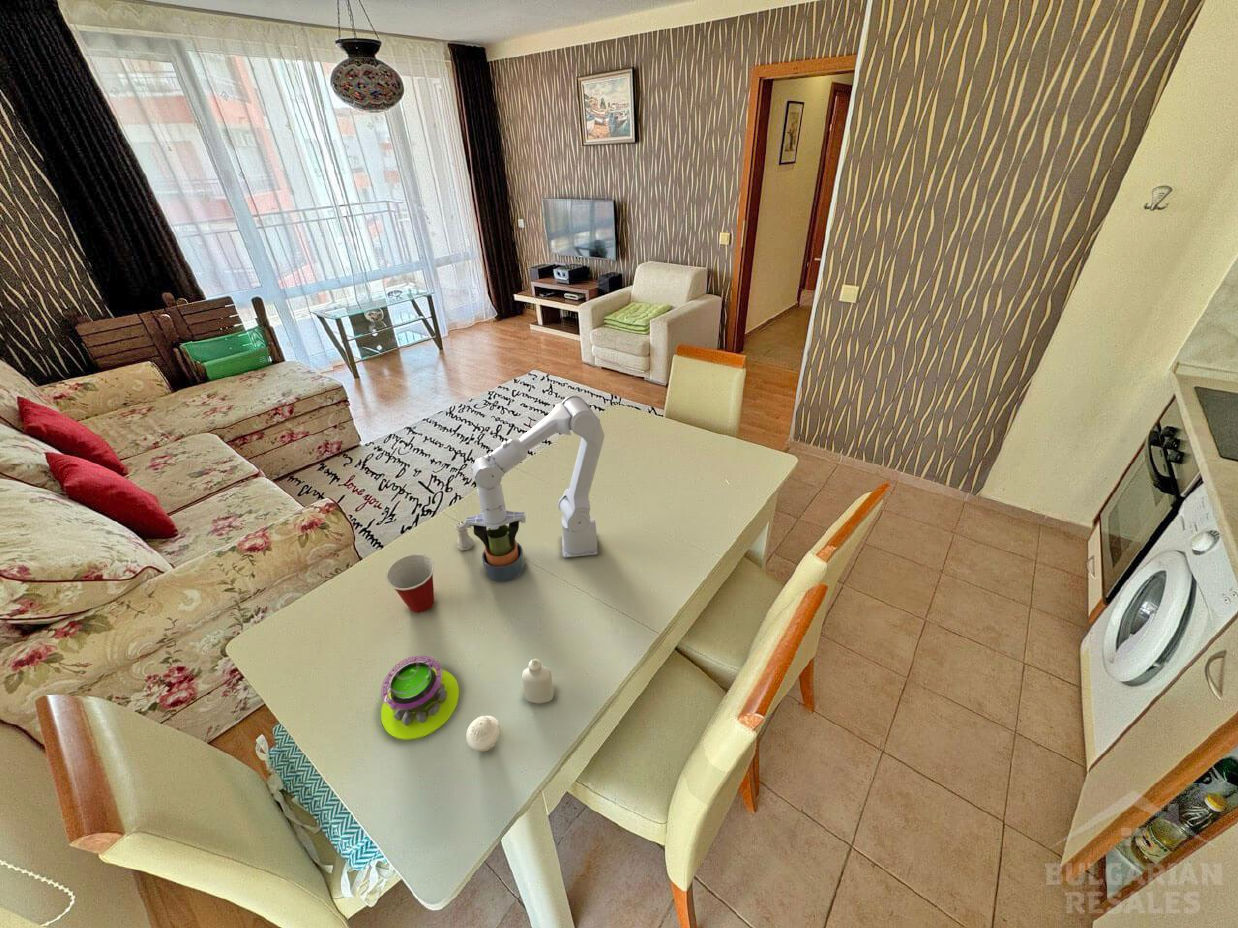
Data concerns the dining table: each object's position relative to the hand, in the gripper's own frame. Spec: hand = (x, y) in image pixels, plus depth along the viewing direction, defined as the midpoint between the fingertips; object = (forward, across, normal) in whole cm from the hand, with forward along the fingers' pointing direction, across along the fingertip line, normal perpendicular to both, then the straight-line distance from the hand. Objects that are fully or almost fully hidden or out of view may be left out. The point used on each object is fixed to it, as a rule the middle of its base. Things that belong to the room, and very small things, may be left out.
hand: (500, 544), depth 125 cm
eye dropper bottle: (+8, +10, -38) cm, 40 cm away
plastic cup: (+8, -20, -10) cm, 23 cm away
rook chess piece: (+8, -12, +10) cm, 17 cm away
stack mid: (+8, 0, 0) cm, 8 cm away
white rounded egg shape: (+8, 0, -46) cm, 47 cm away
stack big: (+8, 0, 0) cm, 8 cm away
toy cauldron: (+8, -14, -36) cm, 40 cm away
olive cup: (+1, 0, 0) cm, 1 cm away
